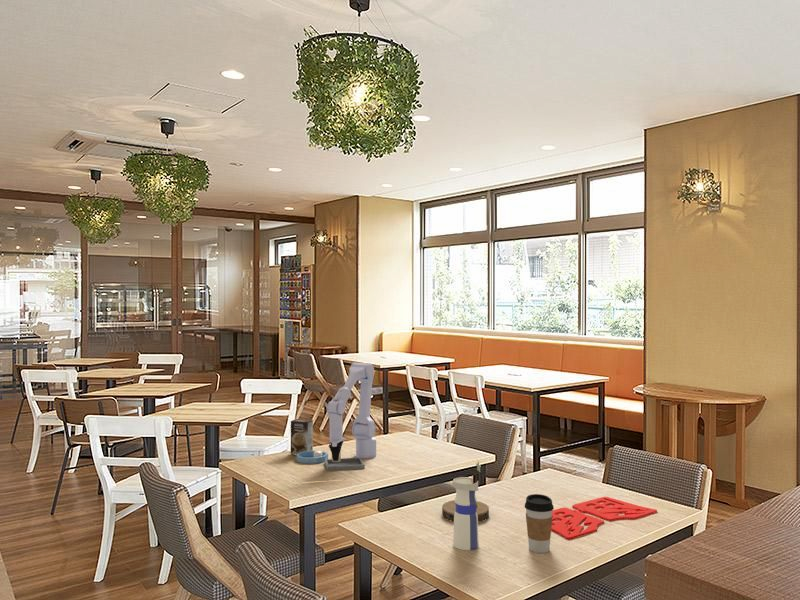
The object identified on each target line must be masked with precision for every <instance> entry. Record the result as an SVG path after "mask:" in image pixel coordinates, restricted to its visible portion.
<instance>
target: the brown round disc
mask: <svg viewBox="0 0 800 600" xmlns="http://www.w3.org/2000/svg"><path fill="white" fill-rule="evenodd" d="M441 511H442V512H441V513H442V514H441V515H443V516H442V517H443V518H444V519H446V520H447V519H448V521H450V520H451V521H450V522H453V521H454V514H455V511H456V503H455V502H454V499H453V500H450V501H447V502H444V503H443V504H442V509H441ZM489 511H490V508H489V505H488V504H486V503H484V502H482V501H478V509H477V510H476V512H477V515H478V521H481V522H484V521H486V520H487V519H488V518H490V517H489V515H490V512H489ZM485 519H486V520H485ZM483 520H484V521H483Z"/></svg>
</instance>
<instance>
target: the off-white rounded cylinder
mask: <svg viewBox="0 0 800 600" xmlns="http://www.w3.org/2000/svg"><path fill="white" fill-rule="evenodd" d="M313 451H314V457H321V456H322V451H323V450H313Z"/></svg>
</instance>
